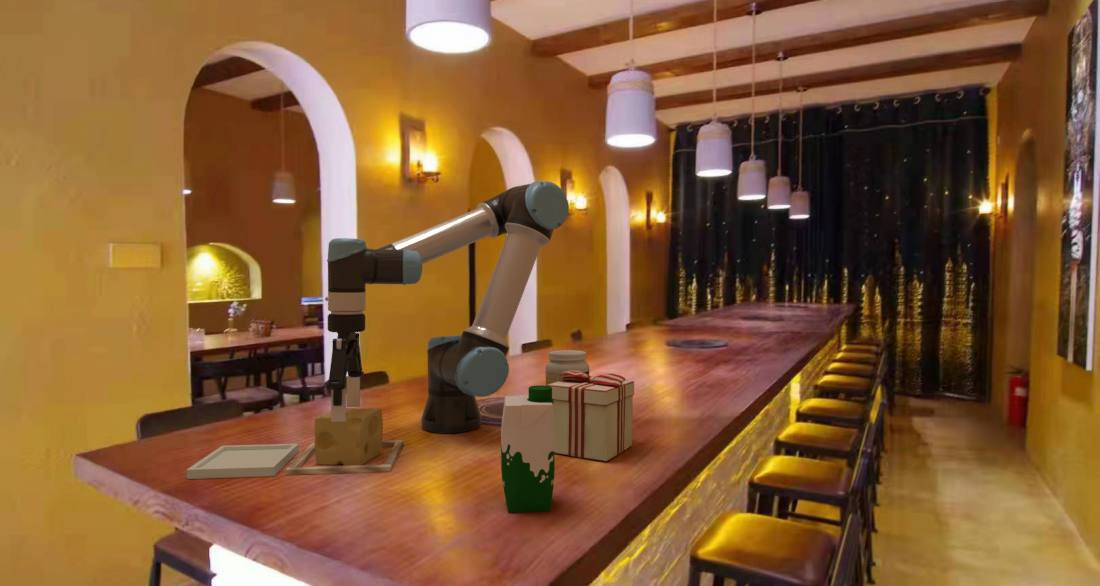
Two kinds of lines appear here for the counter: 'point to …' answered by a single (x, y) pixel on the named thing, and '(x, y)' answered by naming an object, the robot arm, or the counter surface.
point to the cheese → (349, 437)
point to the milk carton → (528, 450)
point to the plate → (243, 461)
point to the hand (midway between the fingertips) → (346, 413)
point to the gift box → (592, 415)
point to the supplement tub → (565, 364)
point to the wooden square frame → (298, 470)
